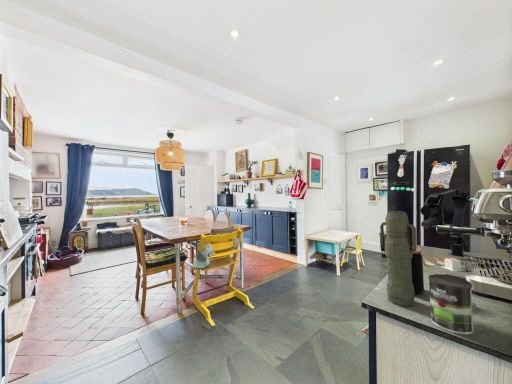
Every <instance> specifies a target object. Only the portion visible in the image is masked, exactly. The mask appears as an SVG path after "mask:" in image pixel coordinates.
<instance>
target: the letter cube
mask: <svg viewBox="0 0 512 384" xmlns="http://www.w3.org/2000/svg"><path fill="white" fill-rule="evenodd" d="M444 262H445V264H444V266H445V267H446V268H449V269H451V270H461V269H462V265H461V263H462V262H461V260H460V261H459V260H456V259H453V258H448V259H446V258H444ZM451 270H450V271H451Z"/></svg>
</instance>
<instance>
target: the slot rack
mask: <svg viewBox="0 0 512 384" xmlns="http://www.w3.org/2000/svg"><path fill="white" fill-rule="evenodd" d="M448 258H453V259H456V260H459V261H461V260H460V258H458V257H454V256H452V255H449V254H448V255H447V254H445V258H444V257H441V256H438V255H434V258H431V257H428V256H425V255H424V256H423V259H422V260H423V266H438V265H439V266H440V265H441V266H442V265H444V266H445V262H444V259H448Z"/></svg>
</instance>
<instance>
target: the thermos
mask: <svg viewBox="0 0 512 384" xmlns="http://www.w3.org/2000/svg"><path fill="white" fill-rule="evenodd" d="M409 221H410V220H409V217H408V214H407V212H405V211H404V210H390V211H388V212H387V213H386V217H385V221H384V222H382V223H381V224H380V226H379V228H380V245H381V248H382V249H383V250H384V253H385V256H386V265H387V266H386V267H387V270H386V271H387V282H386V293H387V301H388V300H389V301H390V302H389V301H388V302H389V303H391V302H392V303H393V305H394V304H395V305H394V306H397V305H398V307H402V308H412V307H414V306H415V298H416V297H415V296H416V295H415V293H414V286H413V284H412V268H411V259H412V253H413V252H415V251H416V250H417V228H416V226H415V225H414V224H411V223H410V222H409ZM384 226H385V228H384ZM410 229H411V236H410V235H409V233H410ZM384 230H385V231H386V235H385V231H384ZM410 237H412V238H411V239H410ZM412 246H413V248H412ZM392 303H391V304H392Z"/></svg>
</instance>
